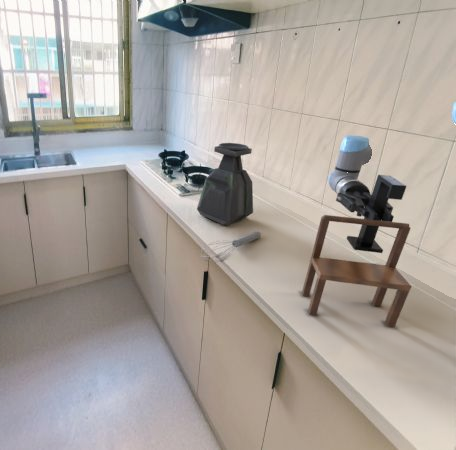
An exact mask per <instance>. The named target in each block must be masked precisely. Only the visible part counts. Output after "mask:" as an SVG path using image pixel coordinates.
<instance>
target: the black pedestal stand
mask: <svg viewBox="0 0 456 450" xmlns="http://www.w3.org/2000/svg"><path fill="white" fill-rule="evenodd" d="M406 190H407V185H406V184H404V183H402V182H401V181H399V180H398V179H396V178H395V177H393V176H391V175H388V174H377V176H376V180H375V183H374V186H373V189H372V192H371V198H370V202H369V205H368V206H369V207H370V208H371V209H372V210H373V211H374V212H375V213H376V214H377V215H378V216H377V219H376V220H378V221H382V220H381V219H382V216H383V214H384V211H385V208H386V205H387V202H388V203H389V200H399V201H402V200H403V197H404V195H405V192H406ZM363 219H366V218H365V217H364V216H363ZM379 228H380V226H371V225H361V226H360V229H359V233H358V235H357V236H352V235H347V236H346V240H347V242H348V243H349V244H350V246H351V247H352V249H353V250H354V251H361V252H367V253H370V252H371V253H377V254H383V252H384V249H383V248H382V247H381V245H380V244H379V243H378V242H377V241H376V240H375V239H376V236H377V234H378V231H379Z"/></svg>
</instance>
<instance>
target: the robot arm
mask: <svg viewBox="0 0 456 450" xmlns="http://www.w3.org/2000/svg"><path fill="white" fill-rule="evenodd" d="M451 117H452V119H453V122H454V124H455V125H456V100H455V101H454V103H453V106H452V110H451ZM369 142H370V139H369V138H368V137H366V136H361V135H353V134H352V135H350V134H349V135H346V136H344V137H343V139H342V141H341V144H340V146H339V151H338V156H337V159H336V163H335V167H334V170H333V171H332V172H331V173H330V174H329V176H328V179H327V181H328V185H329V186H330V189H331V190H332V191H333V192H334V193H336V194H337V195H336V199H335V202H338V203H339V204H341V205H342V206H343V207H344V208H345V209H346V210H347V211H348V212H349V213H355V212H356V216H357V217H360V218H361V217H363V218H364V217H365V218H366V219H369V220H376V219H377V216H378V215H377V214H376V213H375V212H374V211H373V210H372V209H371V208H370V207H369V206H368V205H369V202H370V198H371V195H372V193H371V191H370V188H369V187H368V186H367V185H366V184H364V182H362V181H361V180H359V176H360V172H361V170H362V167H363V166H365V165H364V164H366V163H368V162H369V160H370V159H371V156H372V149H371V147H370V145H369ZM347 172H348V173H347ZM393 209H394V206H392V205H391V204H390V203H389V201H388V202H387V205H386V208H385V211H384V214H383V216H382V219H381V221H388V222H393V220H394V217H395V216H394V215H393V214H392V213H393Z"/></svg>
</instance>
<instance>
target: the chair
mask: <svg viewBox="0 0 456 450" xmlns="http://www.w3.org/2000/svg"><path fill="white" fill-rule="evenodd" d="M330 222H334V223H344V224H354V225H361V226H362V225H371V226H379V228H380V227H381V228H390V229H391V228H392V229H398V230H397V233H396V234H395V235H396V236H395V238H394V241H393V243H392V247H391V249H390V252H389V255H388V257H387V260H386V263H385V264H377V263H370V262H361V261H354V260H345V259H337V258H331V257H330V258H329V257H321V254H322V250H323V246H324V243H325V239H326V235H327V233H328V228H329V226H330V225H329V224H330ZM411 230H412V229H411V227H410V223H405V222H399V221H398V222H396V221H392V222H388V221H382V220H381V221H378V220H369V219H364V218H358V217H349V216H340V215H330V214H329V215H328V214H323V215H322V216H321V218H320V221H319V225H318V229H317V233H316V236H315V240H314V244H313V248H312V252H311V256H310V260H309V264H308V267H307V271H306V275H305V277H304V283H303V287H302V291H301V294H302V296H303V297H310V294H311V291H312V287H313V284H314V279H315V276H316V275H317V276H316V281H315V284H314V288H313V292H312V294H311V295H312V296H311V299H310V302H309V306H308V309H307V312H308V314H309V316H310V315H311V316H315V317H316V316H317V313H318V310H319V307H320V304H321V300H322V296H323V294H324V293H323V292H324V289H325V285H326V282H327V281H330V282H338V283H346V284H353V285H361V286H366V287H367V286H369V287H376V289H375V292H374V295H373V298H372V300H371V303H372V305H373V306H374V307H379V308H381V307H382V304H383V302H384V300H385V296H386V294H387V291H388V289H390V290H396V292H395V295H394V297H393V300H392V303H391V305H390V308H389V310H388V312H387V315H386V317H385V320H384V324H385V325H386V327H388V328H395V327H396V324H397V322H398V320H399V317H400V315H401V313H402V309H403V308H404V305H405V304H406V303H405V302H406V301H407V298H408V296H409V293H410V291H411V288H412V285H411V284H410V283H409V282H408V280H407V279H406V278H405V277H404V275H402V273H401V272H400V271H399V269H397V268H396V267H397V265H398V263H399V260H400V257H401V256H402V255H401V254H402V252H403V250H404V246H405V244H406V242H407V239H408V236H409V234H410V232H411Z"/></svg>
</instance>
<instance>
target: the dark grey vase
mask: <svg viewBox="0 0 456 450" xmlns="http://www.w3.org/2000/svg"><path fill="white" fill-rule="evenodd" d="M213 149H214V150H213V152H215V153H218V154H221V155H223V156H222V157H221V160H220V162H219V165H218V167H216V168H214V169H213V170H212V171H211V172H210V173H209V174H208V175H207V177H206V178H205V180H204V184H203V186H202V190H201V194H200V196H199V201H198V203H197V207H196V210H197V211H198V213H199V215H200V216H202V217H204V218H207V219H209V220H212V221H214V222H216V223H218V224H221V225H224V226H228V225H229V226H230V225H231V224H235V223H237V222H239V221H240V222H241V221H242V220H244V219H246V218H247V217H249V216H250V215H252V214H253V213H254V194H253V180H252V178H251V177H250V174H249V173H248V171H247V170H245V169H244V168H243V160H242V156H247V155H251V154H252V151H253V148H250V147H249V146H248V145H246V144H243V143H237V142H236V143H235V142H222V143H219V144H218V146H214V148H213Z"/></svg>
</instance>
